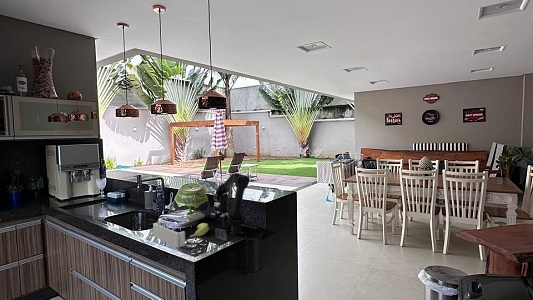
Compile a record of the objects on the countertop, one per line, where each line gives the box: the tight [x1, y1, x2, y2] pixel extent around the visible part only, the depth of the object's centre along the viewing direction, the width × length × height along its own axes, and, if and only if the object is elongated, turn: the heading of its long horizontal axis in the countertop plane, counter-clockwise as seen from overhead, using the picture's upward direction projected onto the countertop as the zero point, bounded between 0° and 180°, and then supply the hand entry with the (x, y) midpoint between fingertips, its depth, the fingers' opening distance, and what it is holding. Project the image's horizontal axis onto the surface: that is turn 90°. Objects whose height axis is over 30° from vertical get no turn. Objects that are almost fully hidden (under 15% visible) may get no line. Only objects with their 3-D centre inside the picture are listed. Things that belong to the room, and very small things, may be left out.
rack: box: [152, 220, 186, 249], centre depth 176 cm, size 30×5×11 cm, turn 46°
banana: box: [189, 222, 210, 239], centre depth 190 cm, size 14×6×20 cm
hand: (224, 225), depth 201 cm, fingers closed
